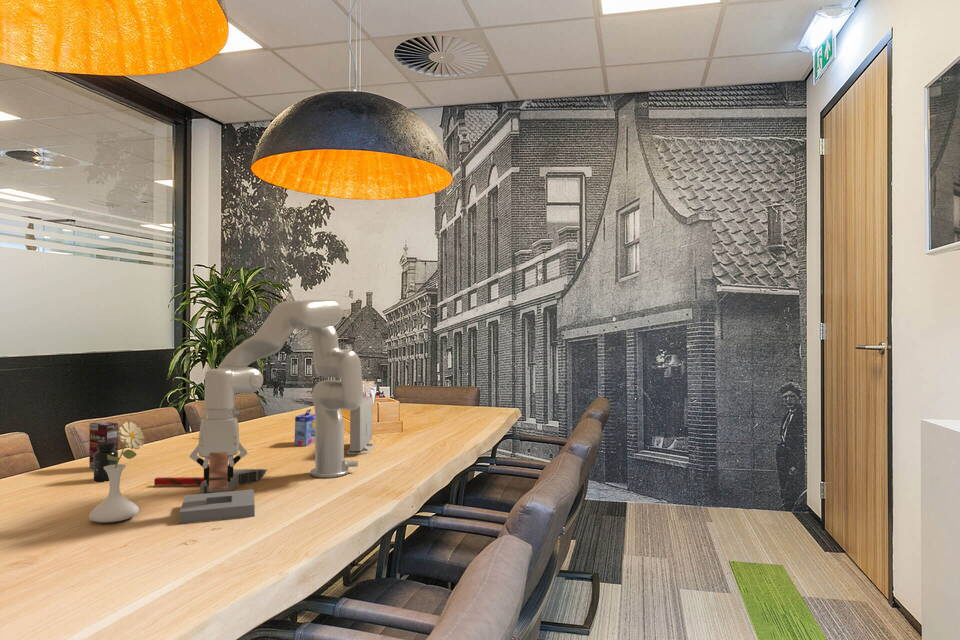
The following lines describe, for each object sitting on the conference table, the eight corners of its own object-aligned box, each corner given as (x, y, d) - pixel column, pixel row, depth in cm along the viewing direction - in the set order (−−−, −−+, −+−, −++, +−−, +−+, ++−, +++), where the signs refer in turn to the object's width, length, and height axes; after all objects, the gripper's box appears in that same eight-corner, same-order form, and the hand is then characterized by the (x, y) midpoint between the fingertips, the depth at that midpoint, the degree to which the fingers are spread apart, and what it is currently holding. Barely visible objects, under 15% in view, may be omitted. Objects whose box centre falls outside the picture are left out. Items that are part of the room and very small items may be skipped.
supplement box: (88, 468, 216) (88, 423, 216) (101, 465, 220) (101, 421, 220) (105, 471, 213) (106, 424, 213) (118, 468, 217) (118, 422, 217)
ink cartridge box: (306, 446, 256) (306, 411, 256) (293, 446, 257) (294, 411, 257) (316, 442, 266) (316, 408, 266) (304, 441, 266) (304, 407, 266)
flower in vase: (102, 529, 154) (103, 428, 154) (79, 521, 160) (80, 424, 160) (154, 515, 165) (154, 421, 165) (130, 508, 171) (131, 417, 171)
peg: (228, 484, 172) (228, 448, 172) (227, 489, 167) (228, 452, 167) (209, 486, 170) (210, 449, 170) (208, 490, 166) (209, 453, 166)
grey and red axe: (177, 464, 209) (267, 464, 210) (177, 475, 209) (267, 475, 210) (140, 483, 185) (242, 482, 186) (140, 495, 185) (241, 495, 186)
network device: (365, 456, 238) (365, 404, 238) (342, 456, 238) (343, 404, 238) (377, 443, 263) (377, 396, 263) (356, 443, 263) (357, 396, 263)
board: (253, 499, 180) (253, 489, 180) (254, 516, 165) (254, 504, 165) (185, 506, 173) (185, 495, 173) (179, 523, 158) (179, 511, 158)
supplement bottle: (88, 480, 200) (89, 443, 200) (110, 476, 206) (110, 440, 206) (101, 483, 197) (101, 445, 197) (122, 478, 203) (123, 442, 203)
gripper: (252, 411, 175) (251, 475, 175) (186, 413, 169) (185, 480, 169) (252, 414, 168) (251, 482, 168) (183, 417, 162) (182, 487, 162)
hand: (218, 480), depth 169 cm, fingers closed on peg, 4 cm apart
